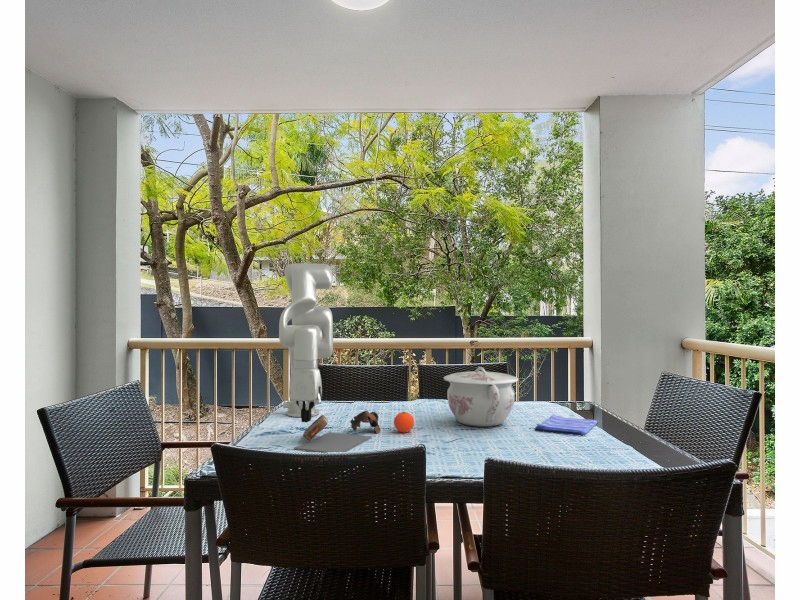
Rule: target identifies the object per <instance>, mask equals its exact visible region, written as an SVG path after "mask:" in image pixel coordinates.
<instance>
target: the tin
mask: <svg viewBox="0 0 800 600" xmlns="http://www.w3.org/2000/svg"><path fill="white" fill-rule="evenodd" d="M327 425H328V418H327V417H326V416H325V414H322V415H320V416H319V417H318V418H317V419H316V420H315V421H313V422H312V423H311V424H310V425H309V426H308V427H307V428H306V429H305V430H304V432H303V434H302V436H303V437H304V439H305V440H307V442H308V441H310V440H313V439H315V438H316V435H318V434H319V433H320V432H321V431H323V429H325V428H326V426H327Z"/></svg>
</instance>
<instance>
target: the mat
mask: <svg viewBox="0 0 800 600" xmlns="http://www.w3.org/2000/svg"><path fill="white" fill-rule="evenodd" d="M372 438H373V436H370V435H362V434H351V433H342V432H332V431H329V432H327V433H324V434H322V435H320V436H317V437H314V438H313V439H311V440H310V441H308V440H307V441H306V442H304V443H302V444H300V445H297V446H295V447H293V450H294V451H303V450H305V452H312V453H320V452H345V453H347V452H348V451H350V450H352V449H354V448H356V447H357V446H359V445H361V444H363V443H365V442H368V441H369V440H371V439H372Z"/></svg>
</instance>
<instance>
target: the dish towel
mask: <svg viewBox="0 0 800 600" xmlns="http://www.w3.org/2000/svg"><path fill="white" fill-rule="evenodd" d="M597 423H598V420H597V419H586V418H584V419H583V418H573V417H572V418H571V417H565V416H560V415H556V414H552V415H550V417H548V418H547V419H545V420H544V421H542V422H541V423H536V427H535V428H534V431H537V432H543V431H544V432H543V433H551V432H553V433H554V434H560V433H563V434H562V435H568V434H573V435H572V436H577V435H582V436H581V437H584V436H585V435H587V434H588V433H589V432H590V431H591V430H592V429H593V428H595V426H596V425H597ZM586 433H587V434H586ZM583 435H584V436H583Z"/></svg>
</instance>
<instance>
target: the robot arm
mask: <svg viewBox="0 0 800 600" xmlns="http://www.w3.org/2000/svg"><path fill="white" fill-rule="evenodd" d="M332 272H333V271H332V269H331V267H330V265H329V264H327V263H306V262H305V263H304V262H303V263H302V262H299V263H290V264H287V265H286V266H285V268H284V278H285V282H286V284H287V287H288V290H289V292H290V295H291V302H290V303H289V304H288V305H286V307H284V309H283V310H282V312H281V314H280V317H279V324H278V325H279V326H278V331H279V332H278V341H279V343H280V345H281V346H282V347H283V348H287V349H288V353H289V362H290V366H289V367H290V377H289V378H290V379H289V387H288V397H289V399H290V402H284V403H283V405H282V407H283V409H288V410H287V411H286V415H287V416H288V417H291V416H292V418H300V420H301V423H308V422H311V420H312V417H315V416H317V415H319V414H320V410H318V409H317V408H316V406H317V405H320V404H322V397H323V387H322V385H323V384H322V376H321V371H320V369H319V368H318V366H319V365H318V359H327V358H330V357H331V356H332V355H333V351H334V321H333V312H332V310H331V309H330V307H327V306H316V305H317V290H329V289H331V288H332V286H333V285H332V284H333V280H334V279H333V273H332ZM290 321H291V324H289V325H288V323H289V322H290Z"/></svg>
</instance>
